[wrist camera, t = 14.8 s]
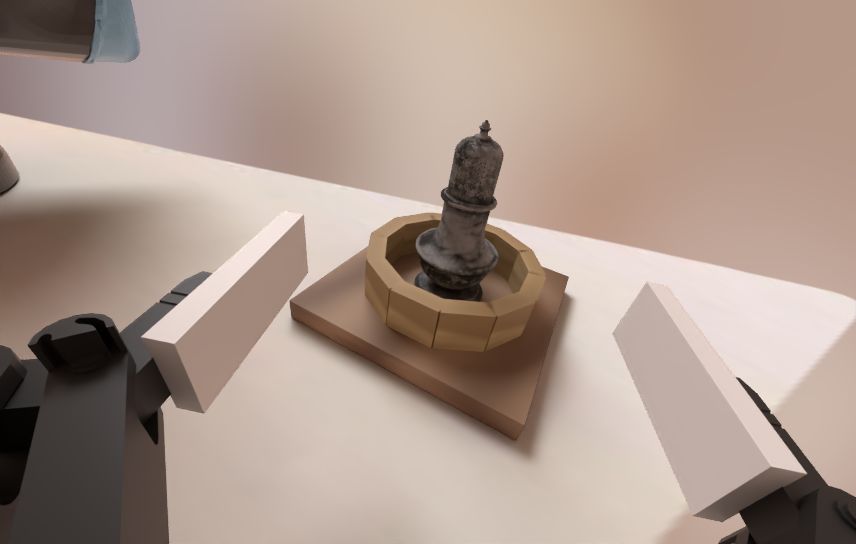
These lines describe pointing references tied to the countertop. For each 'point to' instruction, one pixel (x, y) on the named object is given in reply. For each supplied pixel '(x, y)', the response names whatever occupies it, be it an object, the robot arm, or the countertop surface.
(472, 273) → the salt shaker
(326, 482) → the countertop surface
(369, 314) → the collar stand
